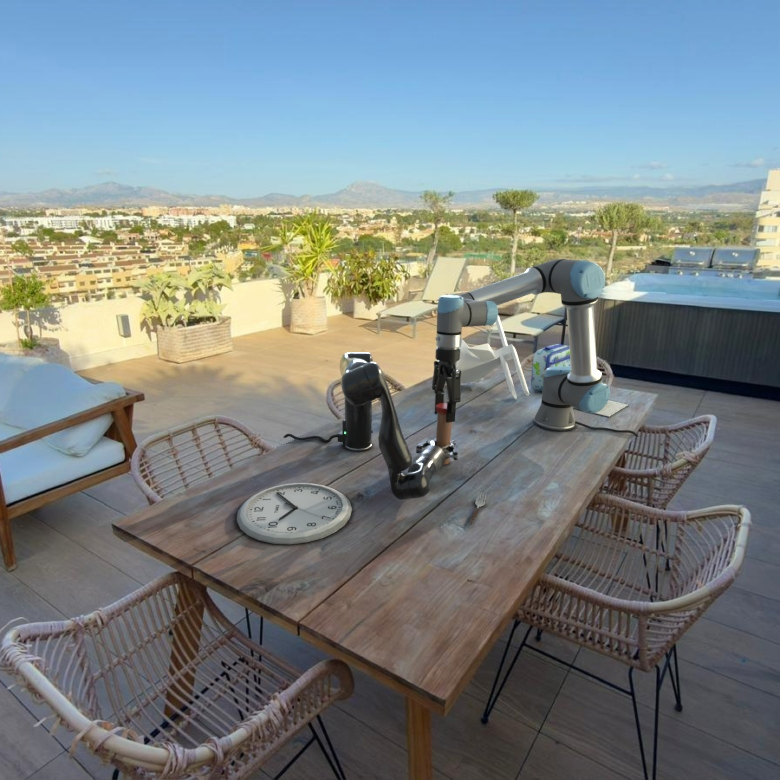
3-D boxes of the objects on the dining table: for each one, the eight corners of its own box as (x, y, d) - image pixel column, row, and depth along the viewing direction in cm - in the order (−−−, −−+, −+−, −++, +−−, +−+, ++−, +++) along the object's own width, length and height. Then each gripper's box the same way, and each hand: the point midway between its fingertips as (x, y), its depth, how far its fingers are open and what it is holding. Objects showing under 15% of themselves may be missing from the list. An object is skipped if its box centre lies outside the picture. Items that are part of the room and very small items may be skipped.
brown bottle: (445, 466, 168) (448, 412, 162) (432, 462, 170) (435, 409, 164) (451, 460, 171) (454, 407, 166) (438, 457, 174) (441, 405, 168)
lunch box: (547, 396, 238) (552, 351, 232) (526, 391, 246) (531, 347, 239) (574, 385, 256) (579, 343, 250) (554, 380, 263) (559, 340, 257)
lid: (457, 412, 164) (457, 407, 164) (441, 414, 162) (441, 409, 161) (448, 406, 169) (448, 402, 168) (432, 409, 167) (433, 404, 166)
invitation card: (608, 416, 214) (573, 407, 224) (608, 416, 214) (573, 408, 224) (628, 404, 229) (594, 396, 238) (628, 405, 229) (594, 397, 238)
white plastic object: (461, 429, 252) (437, 405, 227) (444, 352, 274) (420, 323, 250) (535, 404, 240) (518, 377, 215) (510, 326, 262) (492, 293, 237)
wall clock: (352, 536, 126) (224, 540, 123) (352, 542, 126) (225, 546, 123) (351, 478, 154) (247, 481, 151) (351, 483, 155) (247, 486, 152)
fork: (465, 526, 134) (465, 519, 133) (477, 497, 148) (477, 491, 147) (475, 528, 133) (476, 521, 132) (486, 499, 147) (487, 492, 147)
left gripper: (453, 454, 152) (467, 434, 168) (407, 446, 158) (425, 427, 173) (451, 477, 155) (466, 455, 170) (406, 468, 160) (424, 448, 175)
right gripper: (422, 341, 167) (420, 408, 174) (453, 355, 149) (448, 430, 156) (443, 339, 170) (440, 406, 176) (475, 353, 152) (471, 427, 158)
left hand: (445, 441), depth 171 cm, fingers closed on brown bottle, 4 cm apart
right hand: (444, 417), depth 166 cm, fingers open, 7 cm apart
